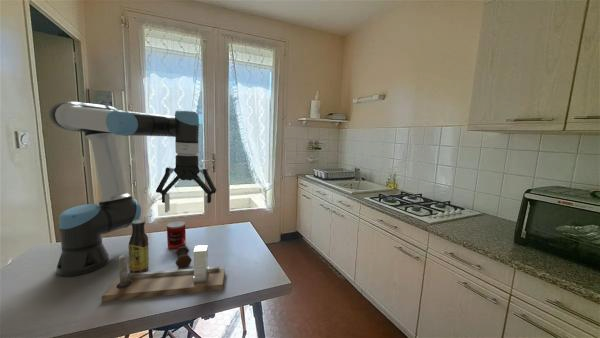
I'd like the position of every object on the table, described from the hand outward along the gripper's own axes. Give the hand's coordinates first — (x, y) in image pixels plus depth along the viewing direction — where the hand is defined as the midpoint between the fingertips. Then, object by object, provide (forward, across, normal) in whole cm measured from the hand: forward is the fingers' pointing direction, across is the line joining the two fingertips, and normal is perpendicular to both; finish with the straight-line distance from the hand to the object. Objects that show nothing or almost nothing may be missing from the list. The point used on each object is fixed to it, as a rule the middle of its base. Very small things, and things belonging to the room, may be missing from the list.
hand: (187, 211), depth 89 cm
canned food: (+25, -10, +23) cm, 36 cm away
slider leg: (+22, +7, -8) cm, 24 cm away
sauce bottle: (+25, -18, +3) cm, 31 cm away
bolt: (+25, -4, +10) cm, 27 cm away
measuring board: (+24, -4, -9) cm, 26 cm away
